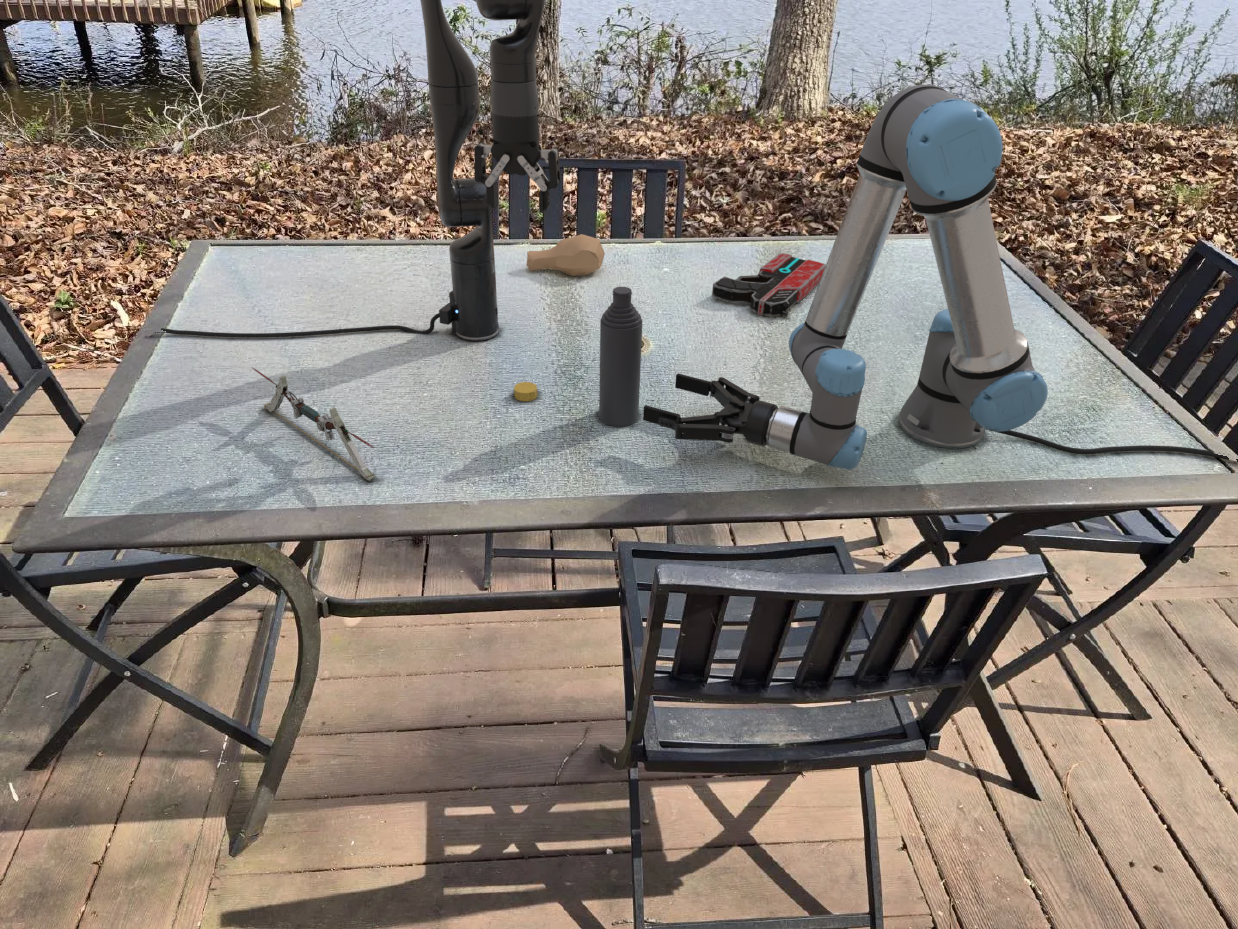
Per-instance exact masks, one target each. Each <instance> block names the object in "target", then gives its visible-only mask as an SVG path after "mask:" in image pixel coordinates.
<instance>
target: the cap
mask: <svg viewBox="0 0 1238 929" xmlns="http://www.w3.org/2000/svg"><path fill="white" fill-rule="evenodd" d="M513 397H514V398H515V400H517V401H519V402H532V401H534V400H536V399H537V398H538V386H537V384H535V383H533V382H530V381H522V382H517V383H516V384H515V385H514V386H513Z"/></svg>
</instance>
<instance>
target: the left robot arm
mask: <svg viewBox="0 0 1238 929" xmlns="http://www.w3.org/2000/svg"><path fill="white" fill-rule="evenodd" d="M472 1H473V2H475V3H476V6H477V9H478V12H479V14H480V15H481V16H482V17H483V18H485V19H487V20H490V21H512V20H515V21H516V20H518V21H517V24H516V26H515V28H514V30H513V31H512V32H510V33H508V34H504V35H502V36H499V37H496V38H493V39H492V41H491V42H490V45H489V61H490V77H491V79H490V81H491V82H490V109H491V112H490V113H491V127H492V128H491V129H492V130H491V131H492V145H491V144H490V145H489V144H486V143H485V142H483V141H481V142H479V143H478V144H476V145H475V146H474V149H473V150H474V152H473V153H474V154H473V155H474V156H473V157H474V161H473V162H474V165H473V166H474V177H473V178H454V171H455V167H456V162H457V159H458V156H459V154H460V151H461V149H462V147H463V145H464V143H465V142H466V139H467V138H468V136H469V134H470V132H471V130H472V129H473V127H474V125H475V123H476V120H477V119H478V115H479V113H480V88H479V87H480V86H479V76H478V75H479V74H478V71H477V68H476V66H475V64H474V63H473V61H472V59H471V57H470V56H469V54H468V52H467V51H466V49H465V48H464V47H463V44H461V42H460V41H459V39H458V38H457V36H456V35H455V32H454V31H453V29H452V27H451V26H450V24H449V22H448V19H447V16H446V14H445V11H444V7H443V3H442V0H420V6H421V14H422V21H423V29H424V37H425V49H426V63H427V64H426V66H427V81H428V94H429V102H430V103H429V104H430V111H431V120H432V129H433V137H434V147H435V168H436V172H435V173H436V196H437V197H436V198H437V208H438V210H437V211H438V215H439V220H440V222H441V223H442V225H443V226H444V227H446V228H461V227H463V228H464V227H474V228H473V229H472V230H471V231H469V232H468V233H467V234H465V235H463V236H461V237H458V238H456V239H455V240H453V241H452V242H451V243H450V245H449V247H448V251H449V263H450V264H449V265H450V275H451V276H450V277H451V286H452V290H451V291H450V292H448V297H449V302H448V303H446V304H445V305H444V306H442V307H440V309H438V313H436V314H434V315H433V316H432V317H431V318H430V320H429V328H427V329H425V330H418V329H414V328H411V327H407V326H404V325H399V324H398V325H397V324H395V325H394V324H393V325H373V326H362V327H349V328H337V329H335V328H334V329H324V330H309V331H308V330H307V331H291V332H255V333H253V332H251V333H249V332H217V331H215V332H213V331H200V330H184V329H183V330H182V329H171V328H164V327H160V328H161V330H163V331H166V332H161V333H163V334H170V335H178V336H179V335H181V336H197V337H198V336H199V337H213V338H238V339H239V338H243V339H250V338H251V339H252V338H253V339H254V338H255V339H257V338H258V339H262V338H264V339H265V338H266V339H267V338H294V337H309V336H310V337H311V336H312V337H313V336H323V335H324V336H326V335H337V334H350V333H351V334H352V333H362V332H363V333H365V332H377V331H391V330H392V331H393V330H395V331H396V330H397V331H403V332H406V333H407V332H408V333H411V334H418V335H428V334H430V333H432V332H433V331H434V330H435V324H436V321H437V320H438V319H439V323H440V324H443V325H448V326H449V325H451V332H452V334H453V335H456V336H457V337H458V338H460V339H462V340H464V341H470V342H479V341H481V342H482V341H486V340H487V341H488V340H491V339H493V338H494V337H495V338H496V337H497V335H499V333H500V327H499V309H498V296H497V295H498V294H497V293H498V292H497V276H496V275H497V274H496V261H495V259H496V258H495V245H494V210H495V209H497V208H498V207H499V191H498V183H497V181H498V179H499V178H500V176H501V175H502V174H503V173H505V174H506V175H515V174H516V175H519V176H523V177H524V176H526V175H528V176H529V177H530V179H531V180H532V181H533V182H534V183H535V184H536V186H537V187H538V188H539V190H538V211H539V212H538V213H540V214H545V213H546V212H547V210H548V209H549V208H550V205H551V199H550V198H551V197H550V196H551V195H550V190H551V189H556V188H557V187H558V186H559V185H560V184H561V183H562V178H561V166H560V165H561V164H560V151H559V149H558V148H557V147H552V148H551V149H543V148H542V147H541V144H540V123H539V122H540V121H539V120H540V119H539V109H540V102H539V92H538V86H537V71H536V70H537V69H536V68H537V67H536V66H537V65H536V50H537V45H538V44H537V43H538V37H539V33H540V27H541V23H542V18H543V14H544V10H545V6H546V0H472ZM490 154H491V156H492V157H493V158H494V160H495V161H496V163H497V164H496V165H495V167H494V168H493V169H492V171H491V172H490V174H487V159H488V158H489V157H490ZM541 158H543V159H544V162H545V163H546V164H548V172H549V178H548V177H547V176H546V174H545V172H544V170H543V168H542V167H541V165H540V163H539V161H540V160H541ZM158 333H160V332H157V333H156V334H158Z"/></svg>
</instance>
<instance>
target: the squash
mask: <svg viewBox="0 0 1238 929" xmlns="http://www.w3.org/2000/svg"><path fill="white" fill-rule="evenodd" d="M605 254H606V253H605V250H604V248H603V245H602V243H601V241H600V239H599V238H596V237H593V236H590V235H587V234H582V233H580V234H578V235H575V236H572V237H567V238H562V239H561V240H560V241H558V243H557V242H556V245H555V246H553V247H551V248H549V249H543V250H529V251H527V252H526V257H527V258H526V267H527V268H528V270H529V271H530V272H531V271H539V270H554V271H555V270H556V271H559V272H561V273H564V274H567V275H569V276H572V277H577V276H578V277H579V276H580V277H581V276H587V275H589V274H591V273H594V272H596V271H597V270H599V269H601V267H602V266H603V262H604V259H605Z"/></svg>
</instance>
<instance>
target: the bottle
mask: <svg viewBox="0 0 1238 929" xmlns="http://www.w3.org/2000/svg"><path fill="white" fill-rule="evenodd" d="M632 295H633V292H632V288H630V287H628V286H616V287H614V288H613V289H612V302H611V303H610V305H608V307H607V308H606V310H605V311H604V312H603V313H602V314H601V318H600V320H599V322H600V323H599V386H598V387H599V391H598V393H599V394H598V397H599V398H598V399H599V400H598V418H599V420H600V421H601V423H604V425H605V424H606V425H608V426H610V427H611V426H612V427H618V428H619V427H620V428H621V427H629V426H631V425H633V424H635V423H636V422H637V421H638V420H639V414H640V413H639V411H640V408H639V407H640V389H641V368H642V367H641V365H642V363H641V362H642V344H643V342H642V341H643V319H642V315H641V314H640V313H639V311H638V310H637V309H636V307H635V306H634V304H633V303H632Z"/></svg>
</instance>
